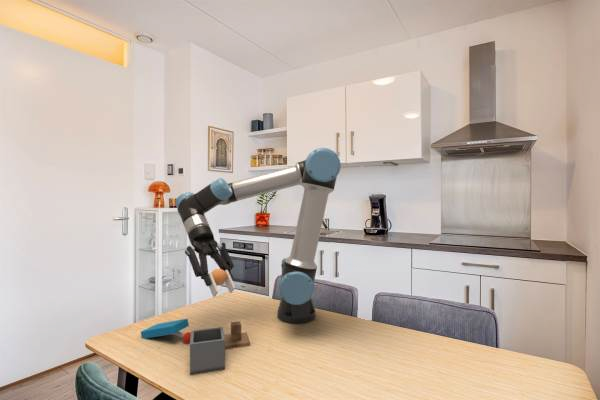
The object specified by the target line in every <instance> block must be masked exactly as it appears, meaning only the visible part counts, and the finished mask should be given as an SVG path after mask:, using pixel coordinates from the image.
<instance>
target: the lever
mask: <svg viewBox="0 0 600 400" xmlns="http://www.w3.org/2000/svg"><path fill="white" fill-rule="evenodd" d="M189 326H190V324H189V318H183V319H178V320H172V321H166V322H161V323H156V324H154V325H152V326H150V327H148V328H145V329H143V330H142V331H140V336H141V338H142V339H150V338H157V337H164V336H168V335H169V336H170V335H176V336H178V337H180V338H182V341H183V343H184V344H190V338H191V331H187V332H185V333H184V332H181V331H182V330H184V329H185V328H187V327H189Z"/></svg>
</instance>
